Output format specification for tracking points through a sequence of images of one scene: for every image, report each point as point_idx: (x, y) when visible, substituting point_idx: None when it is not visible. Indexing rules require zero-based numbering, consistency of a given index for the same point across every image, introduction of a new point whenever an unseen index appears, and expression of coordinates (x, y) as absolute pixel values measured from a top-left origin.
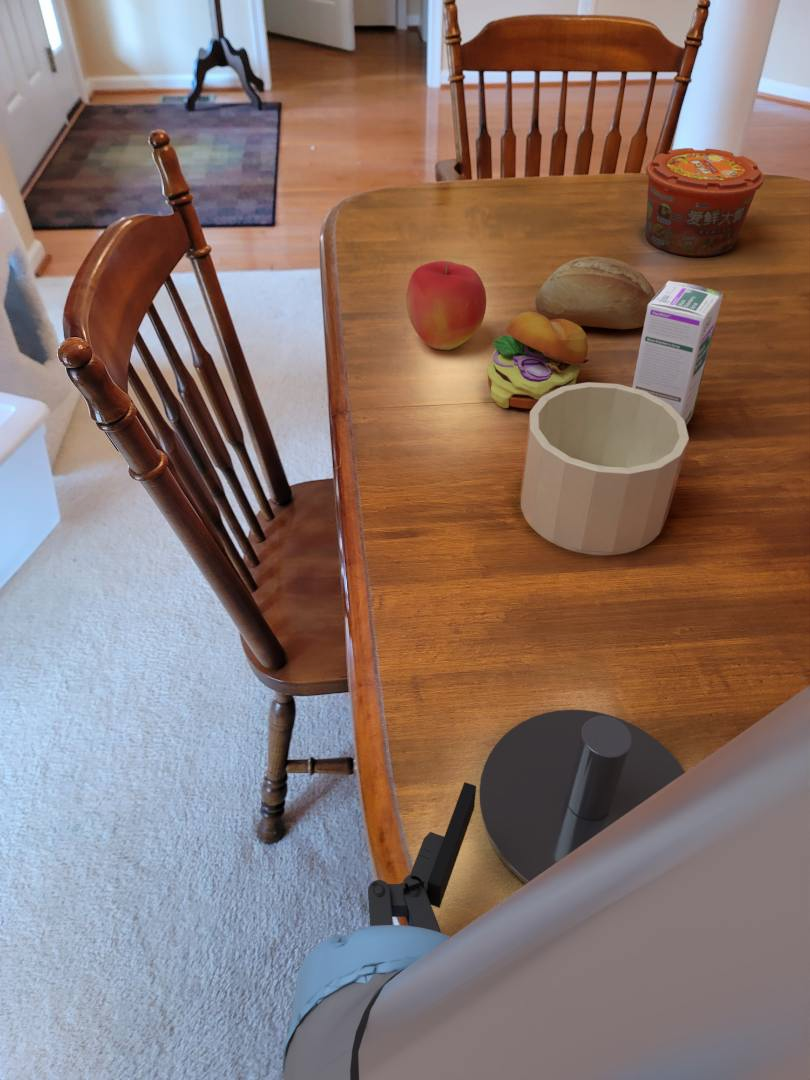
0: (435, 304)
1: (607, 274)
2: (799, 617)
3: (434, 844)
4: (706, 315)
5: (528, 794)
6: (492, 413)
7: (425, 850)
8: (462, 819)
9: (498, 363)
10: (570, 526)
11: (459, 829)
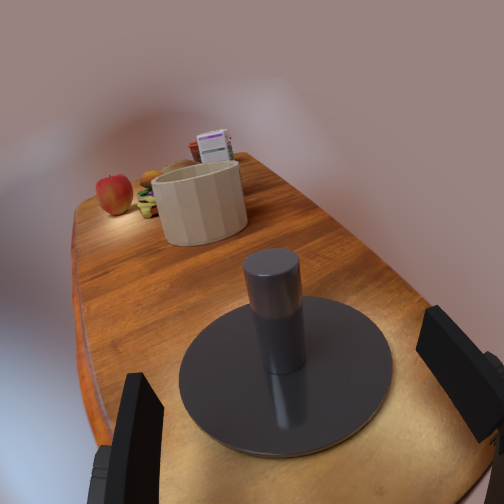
0: (106, 189)
1: (181, 162)
2: (337, 222)
3: (109, 459)
4: (223, 130)
5: (228, 380)
6: (144, 221)
7: (99, 469)
8: (132, 416)
9: (140, 198)
10: (194, 226)
11: (129, 429)
